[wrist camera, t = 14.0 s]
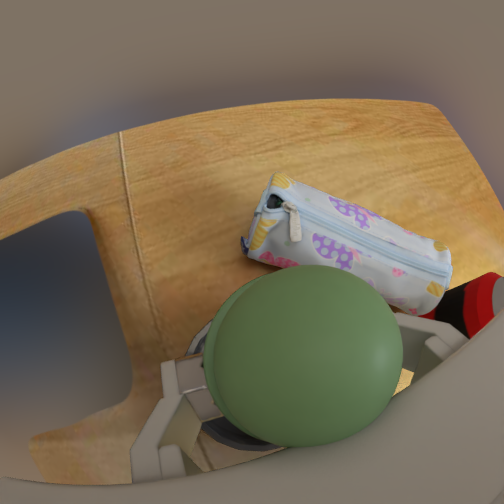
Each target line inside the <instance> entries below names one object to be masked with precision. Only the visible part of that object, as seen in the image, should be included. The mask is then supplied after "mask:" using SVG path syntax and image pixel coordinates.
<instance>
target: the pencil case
mask: <svg viewBox="0 0 504 504" xmlns="http://www.w3.org/2000/svg"><path fill="white" fill-rule="evenodd" d="M241 247H242V252H243V254H245V255H247V257H248V258H251V259H255V260H257V261H259V262H263V263H266V264H269V265H274V266H278V267H281V268H283V269H285V268H288V267H293V266H299V265H325V266H331V267H335V268H339V269H342V270H345V271H347V272H350V273H352V274H354V275H356V276H357V277H359V278H361V279H363V280H364V281H366V282H367V283H368V284H370V285H371V286H372V287H373V288H374V289H375V290H377V291H378V292H379V294H380V295H381V296H382V297H383V298H384V299H385V301H386V302H387V303H388V304H391V305H393V306H396V307H398V308H400V309H401V310H403V311H405V312H406V313H408V314H410V315H413V316H418V315H424V314H427V313H429V312H430V311H432V310H433V309H434V308H435V307H436V306H437V305H438V303H439V302H440V300H441V299H442V297H443V295H444V292H445V290H447V289H448V288H449V284H450V280H451V276H452V271H453V267H452V266H451V254H450V251H449V249H448V247H447V246H446V245H445V244H444V243H442V242H440V241H437V240H433V239H429V238H426V237H424V236H420V235H417V234H415V233H413V232H410V231H408V230H405V229H403V228H401V227H400V226H399V225H397V224H394V223H392V222H391V221H389V220H387V219H385V218H383V217H381V216H379V215H377V214H376V213H374V212H372V211H370V210H368V209H365V208H363V207H361V206H359V205H356V204H354V203H351V202H348V201H345V200H342V199H339V198H336V197H333V196H331V195H329V194H328V193H325V192H322V191H320V190H317V189H316V188H313V187H310V186H308V185H306V184H304V183H301V182H297V181H295V180H292V179H291V178H289V177H288V176H287V175H286V174H284V173H281V172H275V173H274V174H273V175H272V176H271V178H270V180H269V183H268V186H267V188H266V189H265V190H264V191H263V194H262V196H261V200H260V202H259V205H258V206H257V208H256V210H255V212H254V218H253V221H252V224H251V227H250V231H249V235H248V239H245V238H244V237H242V236H241Z"/></svg>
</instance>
